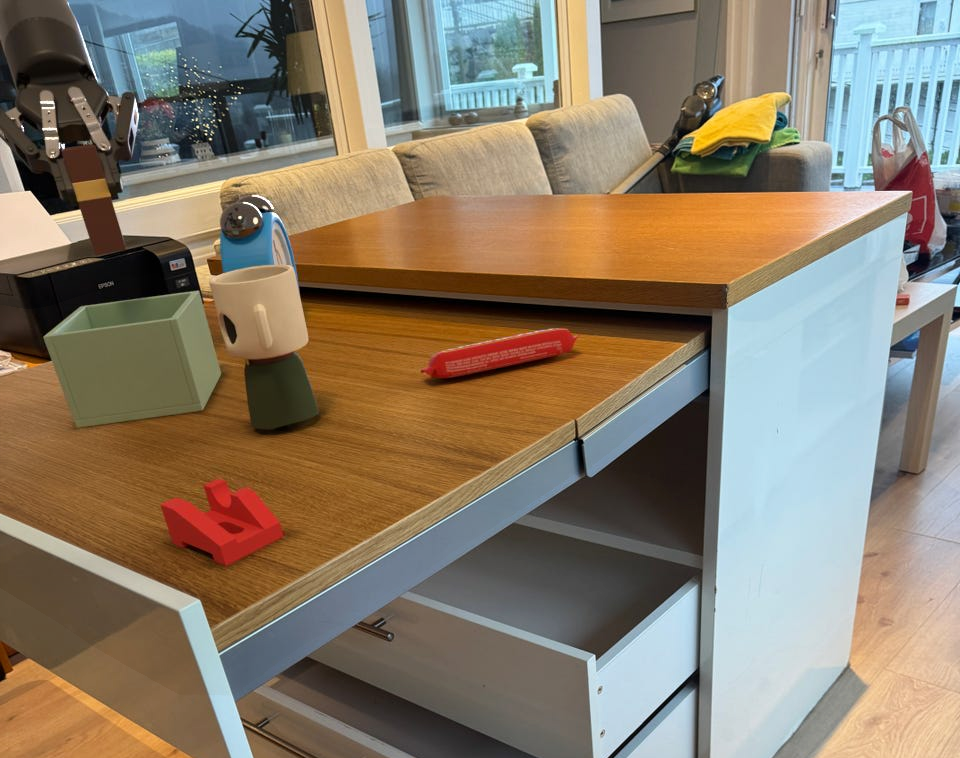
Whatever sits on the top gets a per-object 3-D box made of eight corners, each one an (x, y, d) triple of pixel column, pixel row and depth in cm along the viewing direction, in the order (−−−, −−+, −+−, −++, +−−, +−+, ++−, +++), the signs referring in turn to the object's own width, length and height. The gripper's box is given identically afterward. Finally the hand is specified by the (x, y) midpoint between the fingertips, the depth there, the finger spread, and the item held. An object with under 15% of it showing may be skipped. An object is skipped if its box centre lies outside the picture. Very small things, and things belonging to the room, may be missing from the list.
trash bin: (76, 428, 87) (42, 336, 83) (108, 389, 98) (80, 306, 93) (202, 411, 88) (176, 318, 83) (221, 374, 98) (199, 290, 93)
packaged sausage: (569, 348, 92) (567, 318, 90) (584, 357, 89) (582, 326, 87) (419, 380, 88) (415, 349, 87) (430, 390, 85) (425, 358, 84)
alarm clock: (289, 341, 107) (258, 203, 98) (238, 347, 107) (203, 210, 99) (306, 314, 118) (280, 188, 109) (260, 319, 118) (230, 194, 110)
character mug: (246, 412, 86) (209, 268, 79) (320, 398, 87) (290, 256, 80) (248, 450, 77) (206, 293, 70) (330, 435, 78) (297, 278, 71)
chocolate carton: (92, 249, 90) (60, 148, 85) (123, 244, 91) (93, 143, 86) (94, 255, 87) (60, 150, 82) (127, 249, 88) (95, 145, 83)
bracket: (173, 543, 63) (160, 504, 61) (229, 516, 66) (218, 478, 64) (225, 566, 59) (213, 525, 57) (283, 536, 62) (273, 496, 60)
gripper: (-46, 22, 82) (3, 179, 79) (111, 6, 86) (163, 155, 83) (-19, 90, 89) (26, 236, 86) (125, 73, 93) (173, 212, 90)
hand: (93, 196), depth 85 cm, fingers closed on chocolate carton, 3 cm apart
